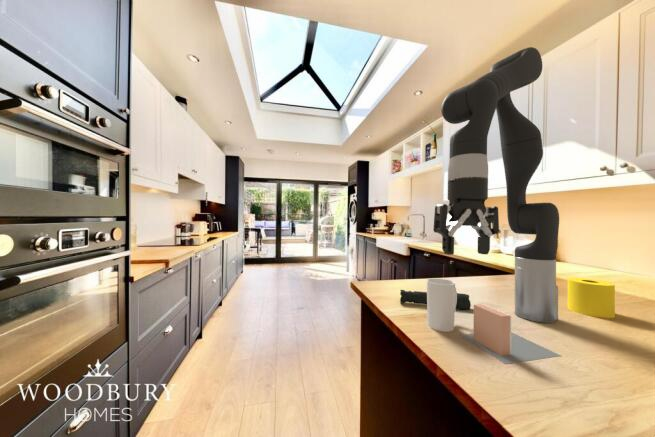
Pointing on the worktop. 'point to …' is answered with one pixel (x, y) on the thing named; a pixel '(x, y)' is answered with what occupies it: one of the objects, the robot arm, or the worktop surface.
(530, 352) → the mat
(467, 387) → the worktop surface
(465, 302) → the flashlight
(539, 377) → the worktop surface
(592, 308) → the tape roll
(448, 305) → the mug
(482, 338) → the tile
